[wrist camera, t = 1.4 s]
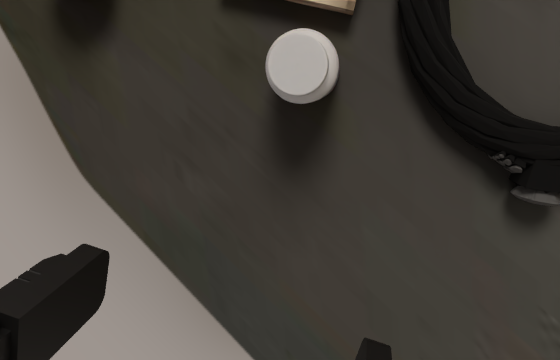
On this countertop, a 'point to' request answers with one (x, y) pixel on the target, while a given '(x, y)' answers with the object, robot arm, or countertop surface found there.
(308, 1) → the divided tray
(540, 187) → the cable lock
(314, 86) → the pill bottle
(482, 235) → the countertop surface
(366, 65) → the countertop surface
